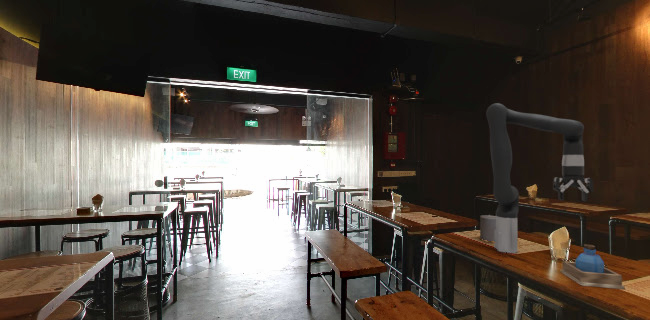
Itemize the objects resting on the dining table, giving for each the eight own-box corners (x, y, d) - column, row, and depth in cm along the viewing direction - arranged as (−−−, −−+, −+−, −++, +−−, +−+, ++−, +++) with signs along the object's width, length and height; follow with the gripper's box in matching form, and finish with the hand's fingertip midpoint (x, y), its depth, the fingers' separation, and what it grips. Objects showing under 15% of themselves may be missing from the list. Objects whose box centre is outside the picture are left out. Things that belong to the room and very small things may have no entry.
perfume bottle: (597, 281, 103) (596, 248, 103) (575, 275, 109) (575, 244, 109) (604, 278, 106) (603, 246, 106) (583, 272, 112) (582, 242, 112)
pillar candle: (476, 238, 167) (476, 213, 167) (491, 237, 168) (491, 212, 168) (487, 243, 157) (487, 216, 157) (503, 242, 158) (503, 216, 158)
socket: (581, 285, 103) (581, 272, 103) (560, 271, 115) (560, 260, 115) (624, 289, 100) (624, 276, 100) (598, 275, 112) (598, 263, 112)
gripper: (559, 164, 126) (558, 201, 126) (597, 165, 123) (597, 202, 123) (550, 164, 134) (550, 199, 134) (586, 165, 130) (586, 200, 130)
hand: (572, 200), depth 128 cm, fingers open, 8 cm apart
